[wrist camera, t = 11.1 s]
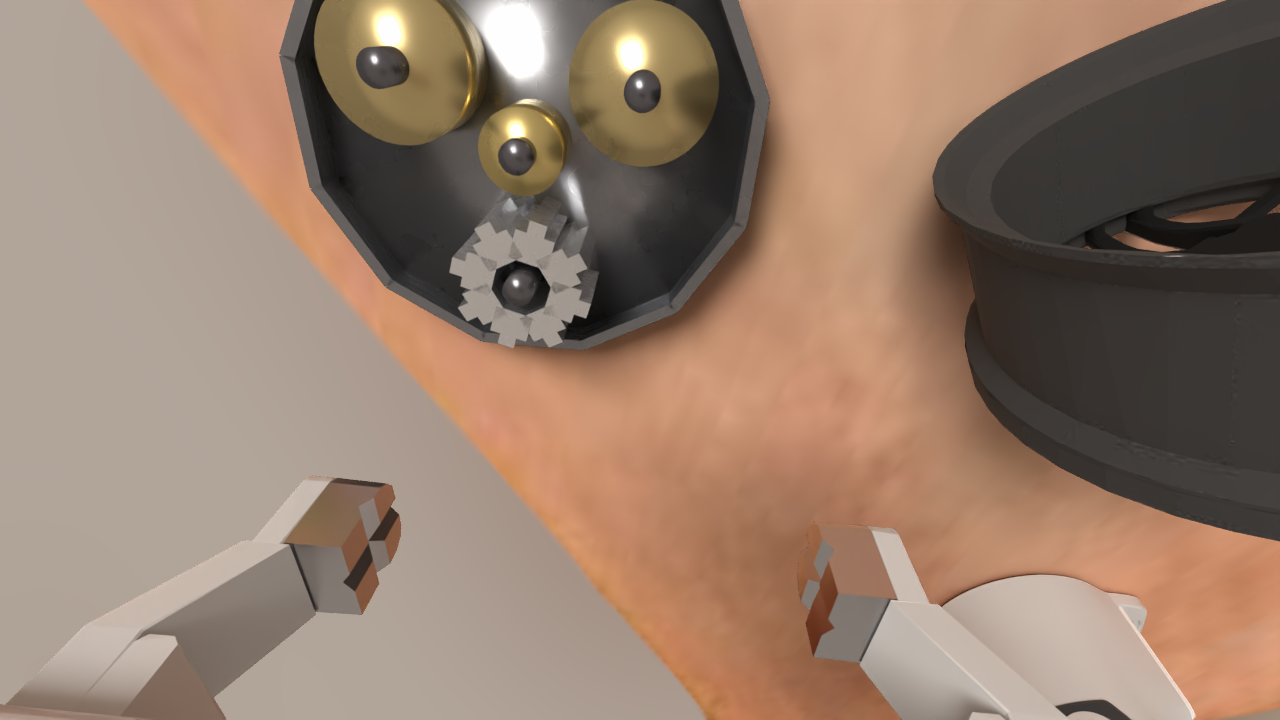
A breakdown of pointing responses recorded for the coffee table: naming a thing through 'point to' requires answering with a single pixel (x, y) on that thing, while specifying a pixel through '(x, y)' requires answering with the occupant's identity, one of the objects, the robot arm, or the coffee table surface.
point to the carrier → (531, 139)
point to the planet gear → (535, 243)
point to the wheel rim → (1136, 265)
